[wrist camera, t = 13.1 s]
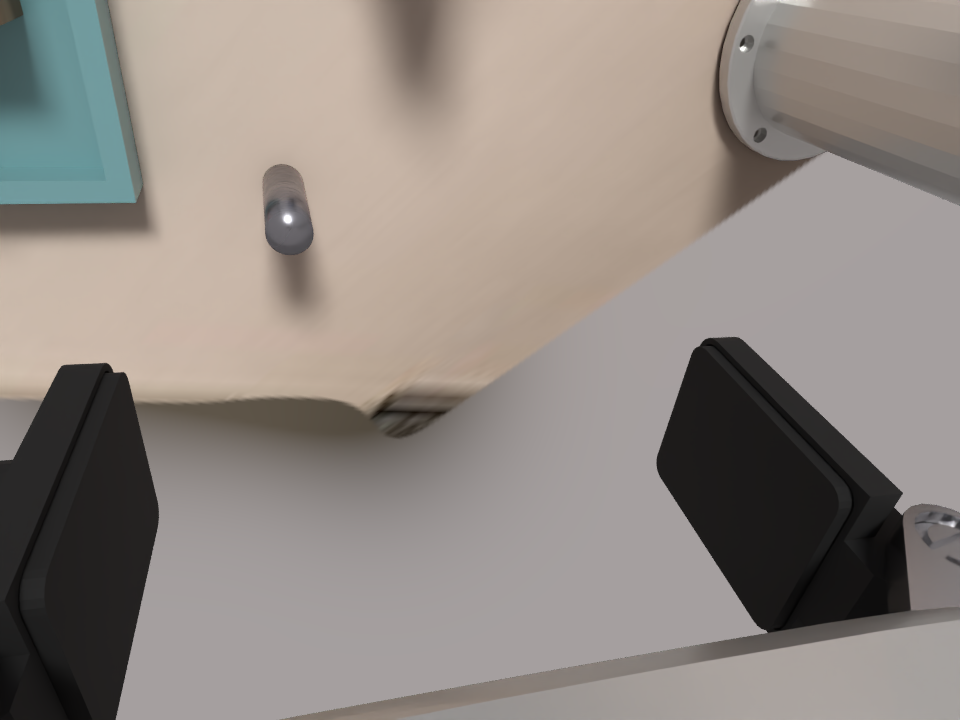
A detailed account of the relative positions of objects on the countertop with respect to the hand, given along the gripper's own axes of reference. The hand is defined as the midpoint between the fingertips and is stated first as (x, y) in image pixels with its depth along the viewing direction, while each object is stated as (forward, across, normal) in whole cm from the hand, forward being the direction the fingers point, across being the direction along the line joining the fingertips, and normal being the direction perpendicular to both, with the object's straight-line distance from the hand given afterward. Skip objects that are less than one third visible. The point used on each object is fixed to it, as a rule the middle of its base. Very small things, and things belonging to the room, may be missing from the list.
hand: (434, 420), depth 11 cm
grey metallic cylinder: (+26, +3, +5) cm, 26 cm away
